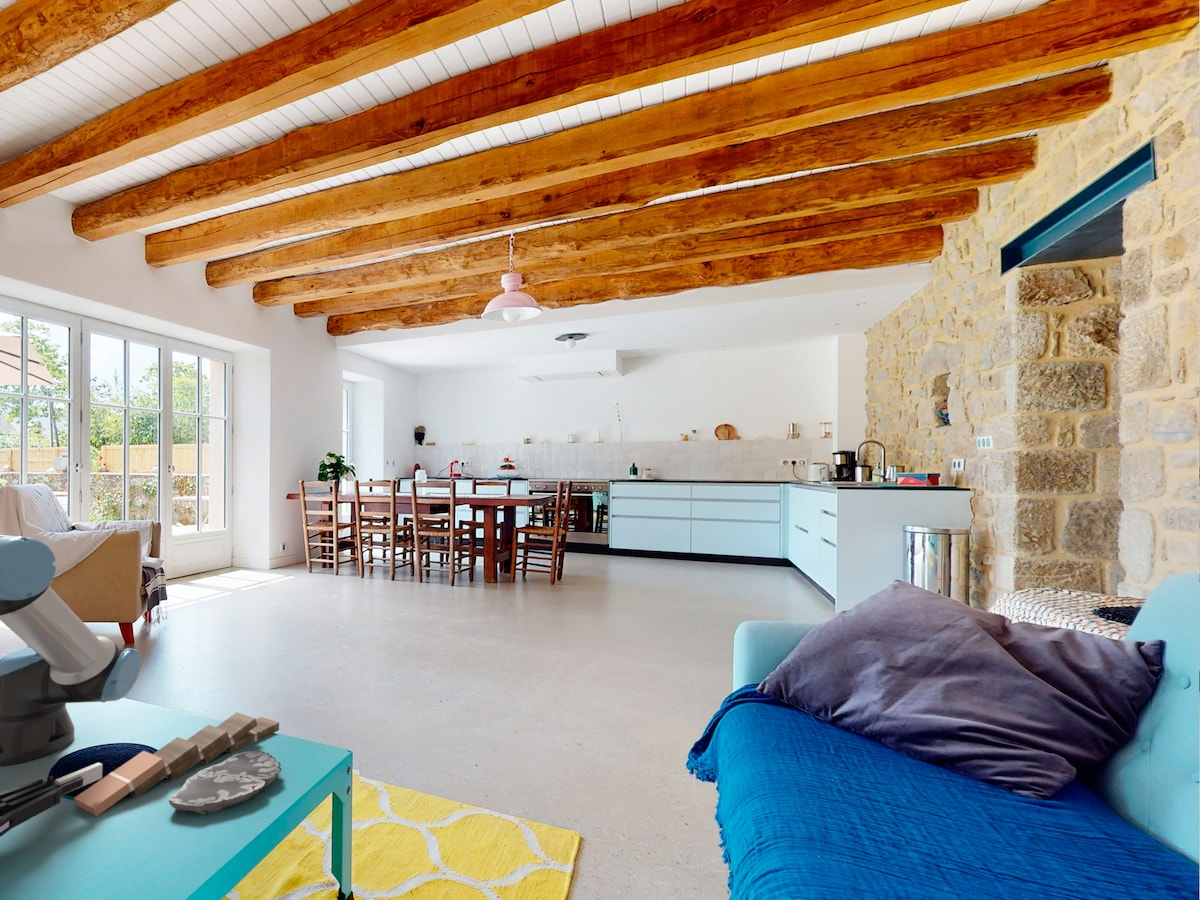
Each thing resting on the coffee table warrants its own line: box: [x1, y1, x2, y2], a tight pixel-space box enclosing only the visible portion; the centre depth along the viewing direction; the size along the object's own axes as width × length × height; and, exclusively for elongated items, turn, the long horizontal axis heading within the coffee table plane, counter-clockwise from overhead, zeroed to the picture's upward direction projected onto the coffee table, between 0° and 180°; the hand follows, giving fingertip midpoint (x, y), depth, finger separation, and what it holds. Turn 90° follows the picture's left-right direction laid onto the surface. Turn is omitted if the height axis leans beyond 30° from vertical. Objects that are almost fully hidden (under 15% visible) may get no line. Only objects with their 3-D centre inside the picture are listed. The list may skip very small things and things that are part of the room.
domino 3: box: [164, 724, 229, 781], centre depth 121 cm, size 2×7×12 cm
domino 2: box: [128, 736, 199, 798], centre depth 115 cm, size 2×7×12 cm
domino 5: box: [224, 716, 280, 754], centre depth 133 cm, size 2×7×12 cm
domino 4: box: [199, 712, 257, 765], centre depth 127 cm, size 2×7×12 cm
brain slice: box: [168, 750, 282, 815], centre depth 112 cm, size 20×17×3 cm
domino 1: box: [73, 750, 165, 817], centre depth 109 cm, size 2×7×12 cm
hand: (100, 770), depth 106 cm, fingers closed
